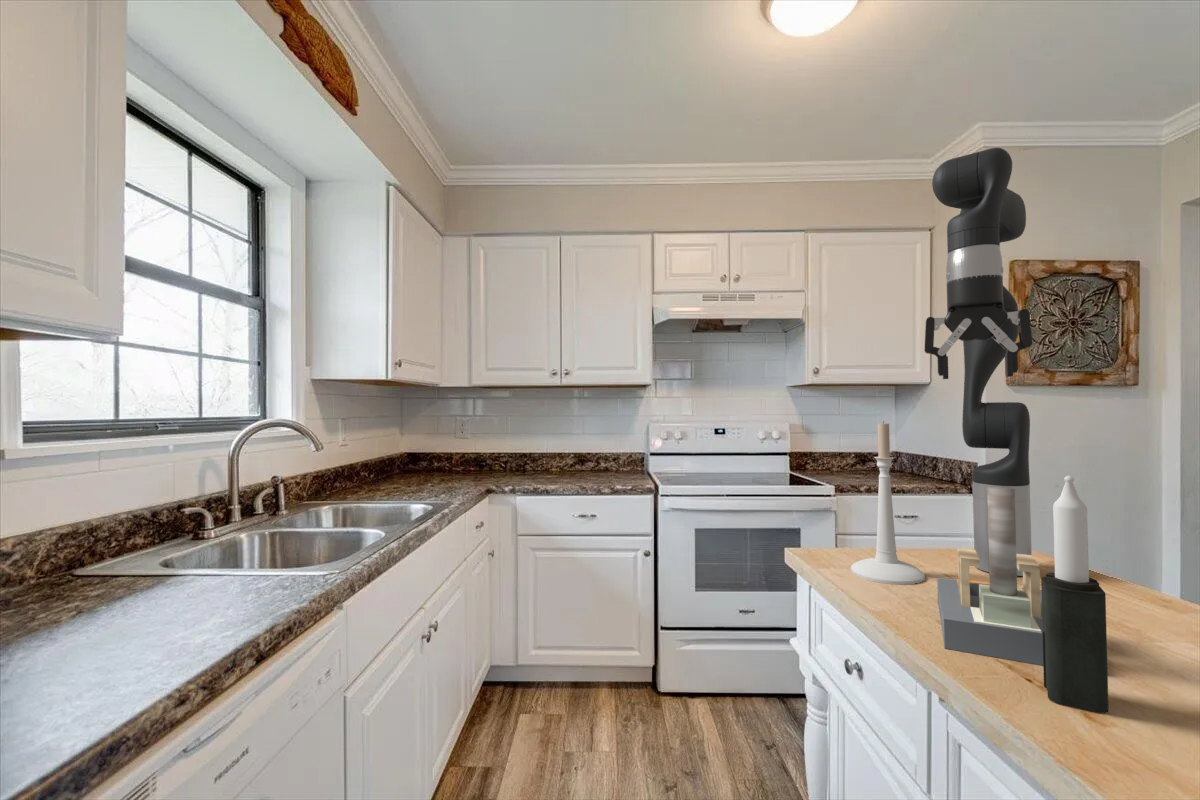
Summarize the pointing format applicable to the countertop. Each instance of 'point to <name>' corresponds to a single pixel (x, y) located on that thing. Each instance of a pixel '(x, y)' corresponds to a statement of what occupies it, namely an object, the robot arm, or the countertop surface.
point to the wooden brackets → (1023, 564)
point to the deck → (985, 628)
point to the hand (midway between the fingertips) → (976, 377)
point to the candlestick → (886, 529)
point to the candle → (1073, 614)
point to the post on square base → (1003, 564)
